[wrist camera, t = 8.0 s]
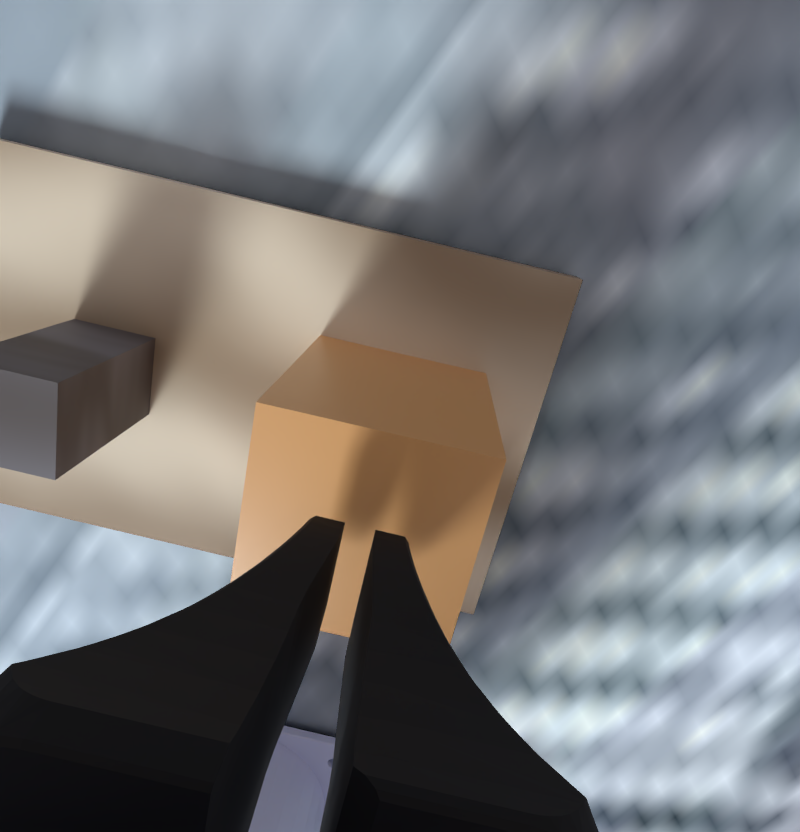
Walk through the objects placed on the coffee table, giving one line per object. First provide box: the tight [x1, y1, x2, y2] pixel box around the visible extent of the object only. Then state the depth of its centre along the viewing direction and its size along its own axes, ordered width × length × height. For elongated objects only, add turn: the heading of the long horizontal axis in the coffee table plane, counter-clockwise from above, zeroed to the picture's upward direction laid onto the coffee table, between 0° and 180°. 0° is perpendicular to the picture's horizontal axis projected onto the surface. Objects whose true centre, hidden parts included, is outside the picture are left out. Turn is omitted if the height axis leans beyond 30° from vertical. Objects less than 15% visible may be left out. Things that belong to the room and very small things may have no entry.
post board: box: [0, 138, 583, 614], centre depth 17 cm, size 12×18×6 cm, turn 78°
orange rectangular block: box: [230, 335, 506, 644], centre depth 16 cm, size 5×5×7 cm
